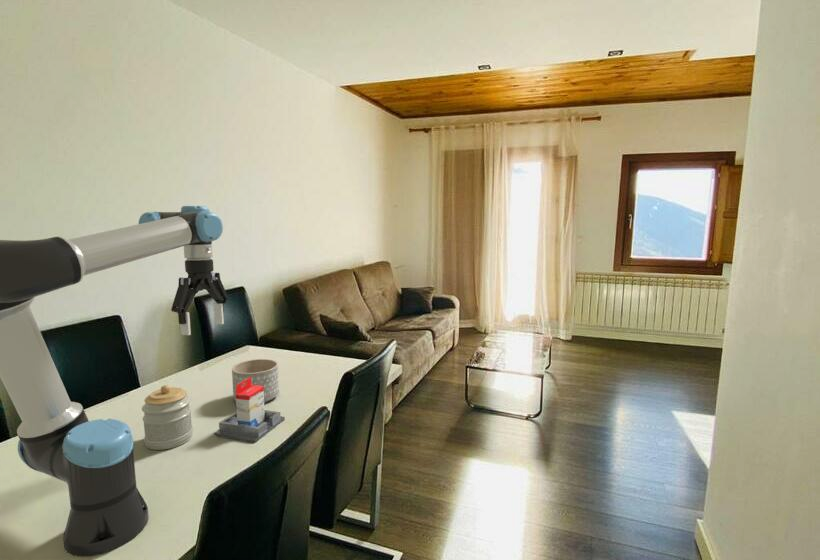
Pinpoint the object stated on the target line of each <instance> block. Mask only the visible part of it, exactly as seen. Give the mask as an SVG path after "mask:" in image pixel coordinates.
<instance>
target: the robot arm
mask: <svg viewBox="0 0 820 560" xmlns="http://www.w3.org/2000/svg"><path fill="white" fill-rule="evenodd" d="M221 219H222V218H220V216H219V215H218V214H216V213H215V212H212V211H211V212H210V208H209V207H208V206H205V205H183V206H181V208H180V211H168V212H167V211H147V212H143V213H142V214H141V215H140V217H139V219H138V222H137V223H138V224H134V225H133V224H132V225H129V226H125V227H120V228H115V229H110V230H107V231H102V232H98V233H97V232H96V233H93V234H89V235H84V236H79V237H74V238H69V239H66V238H65V237H61V236H53V237H49V238H42V239H41V238H40V239H32V240H31V239H29V240H11V239H8V240H7V239H0V380H1V381H2V384H3V385H4V388H5V389H6V391H7V394H8V396H9V398H10V400H11V402H12V404H13V406H14V408H15V411H16V412H17V414H18V416H19V418H20V420H21V422H20V424H19V426H18V427H17V429H16V433H17V437H18V439H19V440H18V442H17V443H18V444H17V452H18V455H19V458H20V460H21V461H22V462H23V463H24V464H25V465H26V466H27V467H28V468H30V469H32V470H34V471H36V472H39V473H42V474H46V475H48V476H49V477H50V476H51V477H53V478H55V479H57V480H60V481H63V482H64V483H66V484H67V487H68V495H69V496H68V497H69V504H70V510H69V514H68V517H67V521H66V526H65V528H64V532H63V535H62V540H63V541H62V542H63V547H64V550H65V552H66V551H67V552H66V553H68V554H69V553H70V554H69V555H71V554H72V555H73V556H75V555H77V556H76V557H88V556H89V557H90V556H96V555H100V554H103V553H107V552H109V551H112V550H115V549H117V548H119V547H121V546H123V545H125V544H126V543H128V542H130V541H131V540H132V539H134V538H135V537H136V536H138V535H139V534H140V533H141V532H142V531H143V530H144V529H145V527H146V526H147V524H148V521H149V517H150V516H149V507H148V505H147V502H146V501H145V499H144V497H143V496H142V494H141V492H140V491H139V489H138V488H137V479H136V478H137V477H136V476H137V475H136V468H135V457H134V456H135V455H134V443H135V442H134V438H133V436H132V435H133V434H132V431H131V428H130V426H129V425H128V424H127V423H126V422H124V421H122V420H119V419H113V418H107V419H106V420H105V419H103V418H101V419H94V420H89V419H88V416H87V414H86V411H85V409H84V407H83V405H82V404H81V403H79V402H76V401H71V399H70V397H69V394H68V392H67V390H66V387H65V385H64V383H63V380H62V378H61V376H60V373H59V372H58V369H57V367H56V365H55V364H56V363H54V360H53V358H52V356H51V353H50V350H49V349H48V346H47V344H46V341H45V339H44V338H43V337H44V336H43V334H42V332H41V331H40V328H39V325H38V323H37V322H36V321H37V320H36V319H35V316H34V314H33V312H32V309H31V308H30V306H31V304H32V303H33V301H34V300H35V298H36V297H38V296H42V295H44V294H47V293H51V292H54V291H57V290H60V289H64V288H66V287H69V286H72V285H75V284H78V283H80V282H81V281H82V280H83V277H85V276H87V275H90V274H91V275H92V274H95V273H97V272H101V271H105V270H107V269H111V268H114V267H119V266H121V265H124V264H128V263H131V262H135V261H138V260H141V259H145V258H148V257H151V256H154V255H158V254H161V253H165V252H168V251H171V250H175V249H178V248H181V247H183V255H184V257H183V258H185V259H186V260H184V269H185V273H187V277H178V285H177V288H176V289H177V290H176V292H175V296H174V299H173V302H172V306H171V309H170V310H171V312H173V313H177V315H178V324H179V326H180V335H181V336H191V335H192V334H191V333H192V332H191V331H192V330H191V319H190V312H188V310H189V308H190V306H191V304H192V303H193V301H194V299H195V296H196V294H198V293H199V292H201V291H205V290H206V292H207V293H208V294H209V296H211V298H212V300H214V301H215V303H213V311H214V313H213V314H214V324H215V325H224V324H225V322H224V321H225V320H224V313H225V307H224V304H226V303H227V301H229V295H228V293H227V291H226V289H225V287H224V285H223V283H222V280H221V275H220V272H214V260H213V256H214V255H213V245H212V243H213V242H214V241H216V240H218V239H220V238H221V236H222V234H223V229H224V225H223V221H222V220H221ZM72 555H71V556H72Z"/></svg>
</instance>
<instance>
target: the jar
mask: <svg viewBox="0 0 820 560" xmlns="http://www.w3.org/2000/svg"><path fill="white" fill-rule="evenodd" d="M187 395H188V392H187V390H185V389H182V388H179V387H175V386H174V387H171V386H170V385H169V384H165V385H162V386H161V387H160V389H156V390H154V391H153V392H151V393H150V394H148V396H146V397H145V399H144V400H143V401H144V404H143V405H142V406H141V411H142V412H143V413H144V414H143V415H144V416H143V417H142V421H143V429H144V430H143V431H144V437H143V438H144V443H145V447H146V448H148V449H150V450H153V451H155V450H156V451H160V450H162V451H163V450H169V449H174V448H177V447H179V446H181V445H183V444H185V443H186V442H188V441H190V439H191V438H192V437H193V432H194V431H193V430H194V429H193V425H192V408H191V406H190V402H191V398H190V397H189V396H187Z"/></svg>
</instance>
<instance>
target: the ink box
mask: <svg viewBox="0 0 820 560" xmlns="http://www.w3.org/2000/svg"><path fill="white" fill-rule="evenodd" d="M251 379H252V378H251V377H249V378H248V379H246V380H244V381H242V382H241V383H239V384H237V385H236V401H235V403H236V404H235V405H236V411H237V424H242V425H248V426H257V425H258V424H259V423H261V422H262V421H263V420H264V419H265V410H266V409H265V403H264V386H259V385H251ZM244 383H246V385H245V386H243V387H241V386H242V385H243V384H244Z"/></svg>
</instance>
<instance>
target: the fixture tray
mask: <svg viewBox="0 0 820 560" xmlns="http://www.w3.org/2000/svg"><path fill="white" fill-rule="evenodd" d="M264 410H265V419H264V420H263V421H262V422H261V423H259V424H258V425H257V426H248V425H242V424H237V410H236V411H235V412H233V413H231V415H228V416H227V417H226V418H224V419H222V420H221V421H219V422H218V430H216V431H215V432H214V433H213V434H214V435H213V436H214V437H220V438H226V439H231V440H235V441H236V440H237V441H243V442H249V443H254V444H255V443H257V442H259V440H261V439H262V438H264V436H266V435H267V434H268V433H270V432H271V431H273V430H274V429H275V428H276V427H277V426H279V425H280V424H281V423H283V422H284V421H285V419H286V418H285V417H286V416H281V412H279V411H275V410H269V409H267V410H266V409H264Z"/></svg>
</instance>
